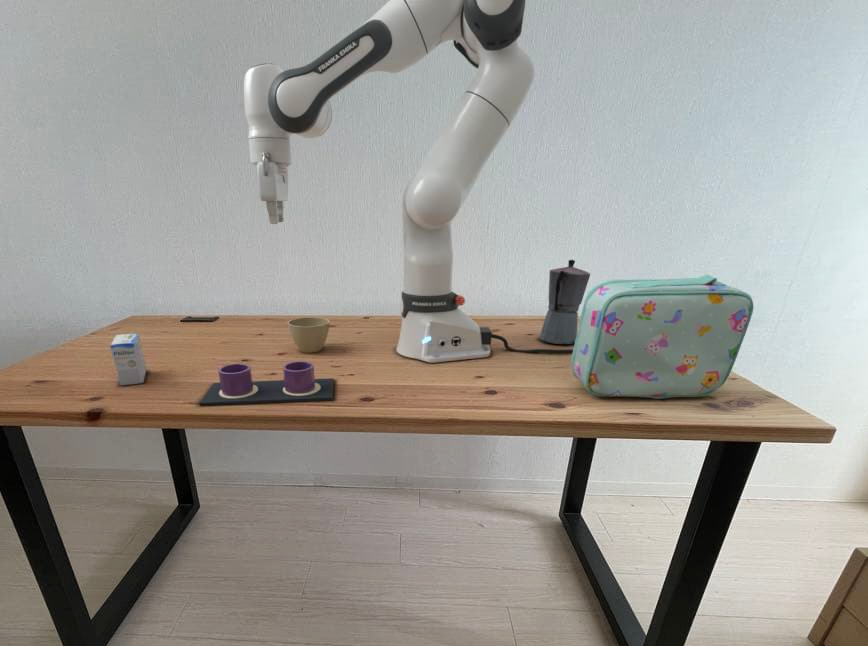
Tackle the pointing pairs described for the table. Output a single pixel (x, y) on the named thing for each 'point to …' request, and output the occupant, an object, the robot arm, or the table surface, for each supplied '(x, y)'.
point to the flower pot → (309, 333)
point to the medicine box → (128, 359)
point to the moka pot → (564, 304)
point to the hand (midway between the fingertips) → (277, 223)
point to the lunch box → (659, 337)
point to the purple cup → (299, 377)
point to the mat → (269, 393)
